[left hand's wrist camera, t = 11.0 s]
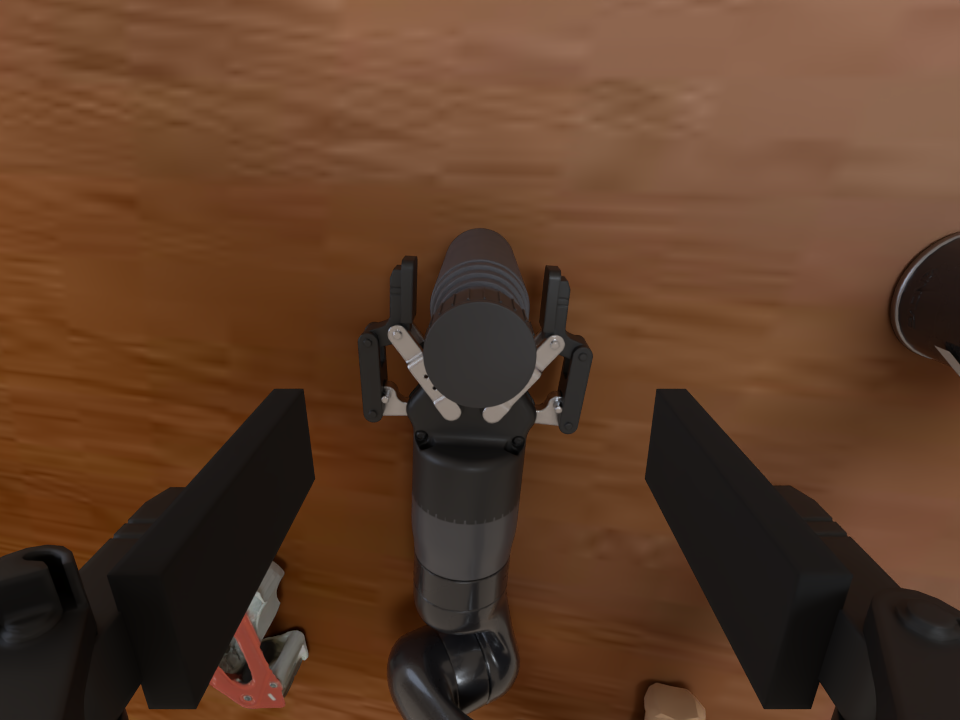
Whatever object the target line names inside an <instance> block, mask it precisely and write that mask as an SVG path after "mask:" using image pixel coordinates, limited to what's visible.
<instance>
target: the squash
mask: <svg viewBox="0 0 960 720" xmlns="http://www.w3.org/2000/svg"><path fill="white" fill-rule="evenodd" d="M644 705H645V711H646V713H645V718H644V720H706V711H705V708H704V707H703V706H702V704H701V703H700V702H699V701H698V699H697V698H696V697H695V696H694V695H693V694H692V693H691V692H690V691H689V690H688V689H684V688H679V687H673V686H668V685H664V684H660V683H655V684H653V685H651V686H649V688H648V690H647V692H646V695H645V697H644Z"/></svg>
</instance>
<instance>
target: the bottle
mask: <svg viewBox="0 0 960 720" xmlns="http://www.w3.org/2000/svg"><path fill="white" fill-rule="evenodd" d="M469 288H470V290H471V289H483V288H486V289H489V290H494V291H497V292H498V291H501V293H502V294H504V295H506V296H508V297H509V298H511V299H512V298H513V299H514V301H515V302H516V303H517V304H518V305H519V306H520V307H521V308H522V309H524V310H525V314H526V316H527V319H528V320H529V311H530V304H529V297H528V293H527V290H526V287H525V285H524V282H523V279H522V276H521V273H520V271H519V268H518V265H517V262H516V259H515V257H514V254H513V251H512V249H511V247H510V245H509V243H508V242H507V241H506V240H505V239H504V238H503V237H502V236H501V235H500V234H498V233H496V232H494V231H492V230H489V229H482V228H478V229H471V230H468V231H466V232H464V233H462V234H460V235H459V236H458V237H457V238H455V239H454V241H453V242H452V243H451V245H450V246H449V248H448V251H447V253H446V256H445V259H444V262H443V265H442V267H441V270H440V273H439V276H438V278H437V281H436V284H435V287H434V290H433V293H432V296H431V302H430V313H431V317H432V315H433V314H435V313H436V311H437V309H438V308H439V307H440V305H441V303H442V302H443V303H444V302H445V301H446V300H447V299H449V298H450V297H452V296H453V294H457V293H460V292H463V291H466V290H468V289H469Z"/></svg>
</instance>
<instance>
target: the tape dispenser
mask: <svg viewBox="0 0 960 720" xmlns="http://www.w3.org/2000/svg"><path fill="white" fill-rule="evenodd" d="M283 576H284V571H283V569H282V568H281V567H280V566H279V565H277V564H276V563H275V562H273V561H272V563H271V565H270V567H269V569H268V571H267V573H266V575H265V577H264V579H263V581H262V582H261V584H260V586H259V588H258V590H257V592H256V594H255V596H254V598H253V600H252V602H251V604H250V606H249V608H248V610H247V611H246V613H245V615H244V617H243V619H242V621H241V623H240V625H239V627H238V629H237V631H236V633H235V635H234V637H233V639H232V640H231V642H230V644H229V646H228V648H227V650H226V652H225V654H224V656H223V658H222V660H221V662H220V664H219V666H218V668H217V669H216V671H215V673H214V675H213V677H212V679H211V681H210V683H209V684H210V685H211V686H213V687H214V688H215V689H217V690H218V691H220V692H221V693H223V694H225V695H226V696H228V697H229V698H230V699H232V700H233V701H235V702H236V703H238V704H239V705H241V706H243V707H245V708H249V709H256V708H277V707H285V701H284V697H285V696H286V695H287V693H288V691H289V689H290V687H291V685H292V682H293V680H294V676H295V675H296V674H297V671H298V669H299V668H300V665H301V662H302V660H306V659H307V658H308V650H307V646H306V642H305V637H304V635H303V633H302V632H300V631H297V630H294V631H290V632H287V633H286V634H282V635H277V636H274V637H268V638H265V639H263V637H264V636H265V634H266V632H267V630H268V628H269V626H270V625H271V623H272V621H273V619H274V617H275V615H276V613H277V610H278V608H279V605H280V602H279V600H278V598H277V588H278V585H279V583H280V581H281V579H282V577H283ZM262 639H263V640H262Z"/></svg>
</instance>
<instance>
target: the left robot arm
mask: <svg viewBox="0 0 960 720" xmlns="http://www.w3.org/2000/svg"><path fill="white" fill-rule="evenodd" d="M314 480H315V474H314V467H313V459H312V451H311V444H310V436H309V428H308V420H307V413H306V405H305V397H304V389H274V390H273V391H272V392H271V393H270V394H269V395H268V396H267V397H266V399H265V400H264V401H263V402H262V403H261V404H260V405H259V406H258V407H257V409H256V410H255V411H254V412H253V413H252V414H251V415H250V416H249V417H248V419H247V420H246V421H245V422H244V423H243V424H242V425H241V426H240V427H239V429H238V430H237V431H236V432H235V433H234V434H233V435H232V436H231V437H230V439H229V440H228V441H227V442H226V443H225V444H224V445H223V446H222V447H221V449H220V450H219V451H218V452H217V453H216V454H215V455H214V456H213V457H212V459H211V460H210V461H209V462H208V463H207V464H206V465H205V466H204V467H203V469H202V470H201V471H200V472H199V473H198V474H197V475H196V476H195V478H194V479H193V480H192V481H191V482H190V483H189V484H188V485H187V486H186V487H170V488H168V489H167V490H165V491H163V492H162V493H160V494H158V495H157V496H155V497H153V498H152V499H150V500H149V501H147V502H145V503H144V504H143V505H142V506H141V507H140V509H139V510H138V511H137V512H136V513H135V514H134V515H133V516H132V517H131V518H130V519H129V520H128V524H124V525H123V526H122V527H121V528H120V529H119V530H118V531H117V532H116V533H115V534H114V538H113V539H109V540H108V541H107V542H106V543H105V544H104V545H103V546H102V547H101V548H100V549H99V550H98V551H97V553H96V554H95V555H94V556H93V557H92V558H91V559H90V560H89V561H88V562H87V563H86V564H85V565H84V566H83V567H82V568H81V569H80V570H79V571H78V568H77V565H76V562H75V559H74V556H73V553H72V552H71V551H70V550H68V549H67V548H65V547H64V546H56V545H43V546H37V547H30V548H26V549H23V550H20V551H17V552H14V553H11V554H8V555H5V556H3V557H1V558H0V720H128V715H127V712H126V709H125V707H126V706H127V704H128V703H129V701H130V700H131V698H132V696H133V695H134V693H135V692H136V690H137V689H138V687H139V686H140V684H141V685H142V689H143V692H144V695H145V698H146V701H147V704H148V707H149V709H196V708H197V706H198V704H199V702H200V700H201V698H202V697H203V695H204V693H205V691H206V689H207V687H208V685H209V683H210V681H211V679H212V677H213V675H214V673H215V671H216V669H217V668H218V666H219V664H220V662H221V660H222V658H223V656H224V654H225V652H226V650H227V648H228V646H229V644H230V642H231V640H232V639H233V637H234V635H235V633H236V631H237V629H238V627H239V625H240V623H241V621H242V619H243V617H244V615H245V613H246V611H247V610H248V608H249V606H250V604H251V602H252V600H253V598H254V596H255V594H256V592H257V590H258V588H259V586H260V584H261V582H262V581H263V579H264V577H265V575H266V573H267V571H268V569H269V567H270V565H271V563H272V561H273V559H274V557H275V555H276V553H277V552H278V550H279V548H280V546H281V544H282V542H283V540H284V538H285V536H286V534H287V532H288V530H289V528H290V526H291V524H292V523H293V521H294V519H295V517H296V515H297V513H298V511H299V509H300V507H301V505H302V503H303V501H304V499H305V497H306V495H307V494H308V492H309V490H310V488H311V486H312V484H313V482H314ZM645 480H646V482H647V484H648V486H649V488H650V490H651V492H652V494H653V495H654V497H655V499H656V501H657V503H658V505H659V507H660V509H661V511H662V513H663V515H664V517H665V519H666V521H667V523H668V524H669V526H670V528H671V530H672V532H673V534H674V536H675V538H676V540H677V542H678V544H679V546H680V548H681V550H682V552H683V553H684V555H685V557H686V559H687V561H688V563H689V565H690V567H691V569H692V571H693V573H694V575H695V577H696V579H697V581H698V582H699V584H700V586H701V588H702V590H703V592H704V594H705V596H706V598H707V600H708V602H709V604H710V606H711V608H712V610H713V611H714V613H715V615H716V617H717V619H718V621H719V623H720V625H721V627H722V629H723V631H724V633H725V635H726V637H727V639H728V640H729V642H730V644H731V646H732V648H733V650H734V652H735V654H736V656H737V658H738V660H739V662H740V664H741V666H742V668H743V669H744V671H745V673H746V675H747V677H748V679H749V681H750V683H751V685H752V687H753V689H754V691H755V693H756V695H757V697H758V698H759V700H760V702H761V704H762V706H763V708H764V709H811V707H812V704H813V701H814V698H815V695H816V692H817V689H818V685H819V682H820V683H821V684H822V686H823V687H824V689H825V691H826V692H827V694H828V695H829V697H830V698H831V700H832V701H833V703H834V704H835V709H834V712H833V715H832V718H831V720H960V611H959V610H957V609H955V608H954V607H952V606H950V605H948V604H947V603H945V602H943V601H941V600H939V599H937V598H935V597H932V596H929V595H927V594H924V593H921V592H919V591H915V590H910V589H904V588H900V587H899V586H898V585H897V584H896V582H895V581H894V580H893V579H892V578H891V577H890V576H889V575H888V574H887V573H886V572H885V571H884V570H883V569H882V568H881V567H880V566H879V565H878V564H877V563H876V562H875V561H874V560H873V559H872V558H871V557H870V556H869V555H868V554H867V553H866V552H865V551H864V550H863V549H862V548H861V547H860V546H859V545H858V544H857V543H856V542H855V541H854V540H853V539H852V538H851V537H847V533H846V532H845V531H844V530H843V529H842V528H841V527H840V526H839V525H838V524H837V523H836V522H833V521H832V517H831V516H830V515H829V514H828V513H827V512H826V511H825V510H824V509H823V508H822V507H821V506H820V505H819V504H818V503H817V502H816V501H815V500H813V499H811V498H810V497H808V496H807V495H805V494H803V493H802V492H800V491H798V490H797V489H795V488H793V487H792V486H773V485H772V484H771V483H770V482H769V481H768V480H767V479H766V478H765V476H764V475H763V474H762V473H761V472H760V471H759V470H758V469H757V468H756V466H755V465H754V464H753V463H752V462H751V461H750V460H749V459H748V457H747V456H746V455H745V454H744V453H743V452H742V451H741V450H740V449H739V447H738V446H737V445H736V444H735V443H734V442H733V441H732V440H731V439H730V437H729V436H728V435H727V434H726V433H725V432H724V431H723V430H722V429H721V427H720V426H719V425H718V424H717V423H716V422H715V421H714V420H713V419H712V417H711V416H710V415H709V414H708V413H707V412H706V411H705V410H704V409H703V407H702V406H701V405H700V404H699V403H698V402H697V401H696V400H695V399H694V397H693V396H692V395H691V394H690V393H689V392H688V391H687V390H686V389H656V397H655V405H654V413H653V420H652V428H651V436H650V444H649V451H648V459H647V467H646V474H645Z"/></svg>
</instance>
